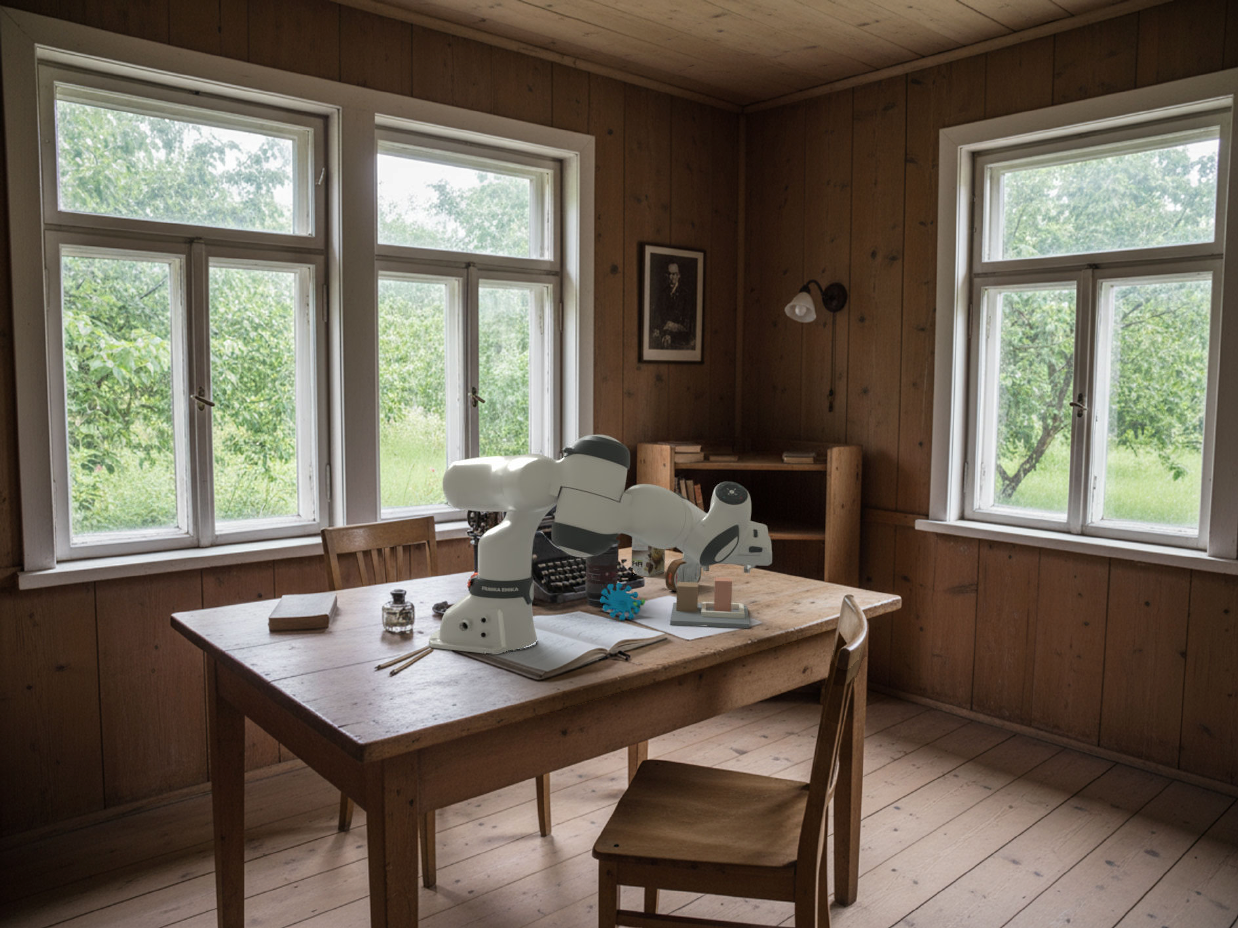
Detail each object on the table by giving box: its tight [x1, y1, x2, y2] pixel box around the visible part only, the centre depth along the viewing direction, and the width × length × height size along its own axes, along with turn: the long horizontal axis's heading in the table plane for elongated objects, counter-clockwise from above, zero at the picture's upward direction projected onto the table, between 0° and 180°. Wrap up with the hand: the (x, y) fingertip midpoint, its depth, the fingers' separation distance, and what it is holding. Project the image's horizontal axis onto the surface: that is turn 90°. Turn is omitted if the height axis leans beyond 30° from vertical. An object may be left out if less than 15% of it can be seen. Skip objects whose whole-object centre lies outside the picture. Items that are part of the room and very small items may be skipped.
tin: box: [664, 557, 703, 592], centre depth 252 cm, size 15×3×8 cm, turn 144°
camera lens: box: [584, 544, 620, 607], centre depth 233 cm, size 8×8×15 cm
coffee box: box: [630, 536, 666, 578], centre depth 271 cm, size 9×6×16 cm
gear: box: [600, 582, 646, 622], centre depth 221 cm, size 11×6×10 cm
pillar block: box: [713, 577, 733, 612], centre depth 222 cm, size 4×4×8 cm
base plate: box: [669, 582, 751, 629], centre depth 221 cm, size 18×18×7 cm
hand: (726, 569), depth 217 cm, fingers open, 8 cm apart
